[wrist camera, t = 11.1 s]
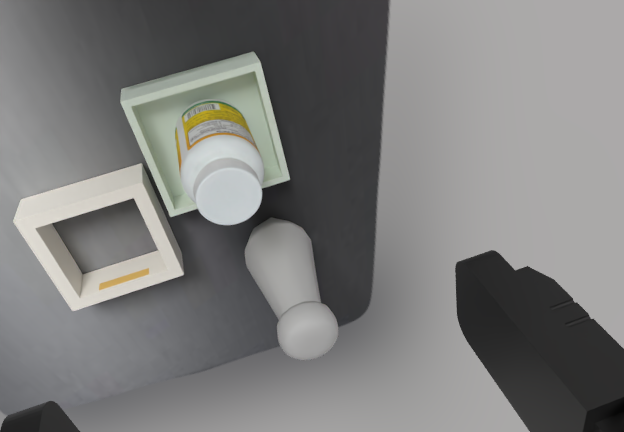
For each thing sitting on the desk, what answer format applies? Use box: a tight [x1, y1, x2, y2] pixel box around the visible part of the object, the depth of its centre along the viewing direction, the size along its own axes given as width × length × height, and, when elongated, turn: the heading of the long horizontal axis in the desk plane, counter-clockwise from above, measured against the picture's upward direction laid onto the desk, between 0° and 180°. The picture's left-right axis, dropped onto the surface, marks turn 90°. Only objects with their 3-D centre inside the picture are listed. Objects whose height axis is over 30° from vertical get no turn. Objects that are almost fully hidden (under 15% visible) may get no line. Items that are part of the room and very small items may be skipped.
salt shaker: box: [245, 217, 339, 360], centre depth 41 cm, size 6×6×13 cm
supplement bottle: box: [175, 99, 264, 225], centre depth 35 cm, size 5×5×10 cm
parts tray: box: [120, 51, 290, 217], centre depth 38 cm, size 10×10×2 cm
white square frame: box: [13, 163, 184, 311], centre depth 40 cm, size 9×9×3 cm
